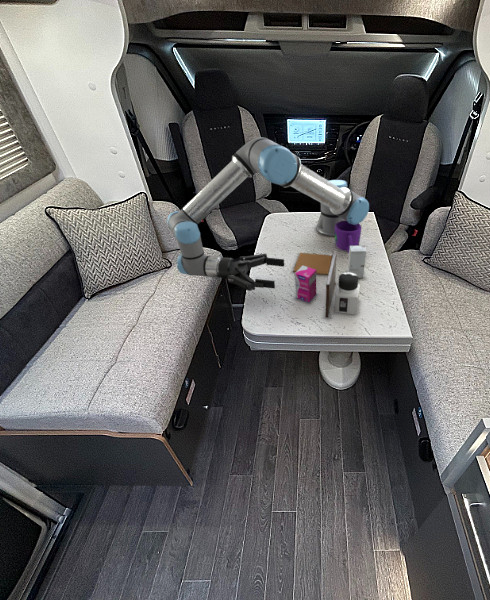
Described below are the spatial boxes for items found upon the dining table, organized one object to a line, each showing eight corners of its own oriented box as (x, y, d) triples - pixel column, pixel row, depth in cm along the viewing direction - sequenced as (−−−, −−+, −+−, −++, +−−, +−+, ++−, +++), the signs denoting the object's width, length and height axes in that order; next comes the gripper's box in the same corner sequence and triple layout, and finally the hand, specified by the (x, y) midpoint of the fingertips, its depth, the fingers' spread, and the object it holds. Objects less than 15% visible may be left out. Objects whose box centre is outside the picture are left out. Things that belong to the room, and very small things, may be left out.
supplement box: (295, 299, 123) (293, 272, 116) (303, 290, 127) (302, 264, 120) (309, 303, 121) (308, 277, 114) (316, 294, 125) (317, 268, 118)
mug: (333, 240, 157) (333, 220, 151) (357, 239, 158) (359, 219, 151) (336, 260, 144) (337, 239, 137) (363, 259, 144) (365, 238, 138)
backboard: (332, 283, 131) (333, 251, 122) (335, 283, 131) (336, 252, 122) (325, 317, 116) (326, 284, 107) (328, 317, 116) (329, 284, 107)
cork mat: (300, 253, 147) (300, 252, 147) (332, 256, 146) (332, 255, 145) (293, 271, 137) (293, 270, 136) (327, 275, 135) (327, 274, 135)
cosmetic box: (348, 278, 134) (350, 251, 126) (347, 271, 137) (348, 245, 129) (363, 277, 134) (366, 251, 126) (362, 271, 137) (365, 245, 130)
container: (356, 314, 117) (359, 284, 109) (334, 312, 118) (335, 281, 110) (358, 300, 123) (361, 270, 115) (337, 298, 124) (338, 268, 116)
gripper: (235, 258, 134) (287, 263, 131) (209, 297, 114) (270, 303, 112) (232, 241, 129) (287, 246, 127) (205, 279, 110) (269, 285, 107)
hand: (279, 273), depth 119 cm, fingers open, 13 cm apart
